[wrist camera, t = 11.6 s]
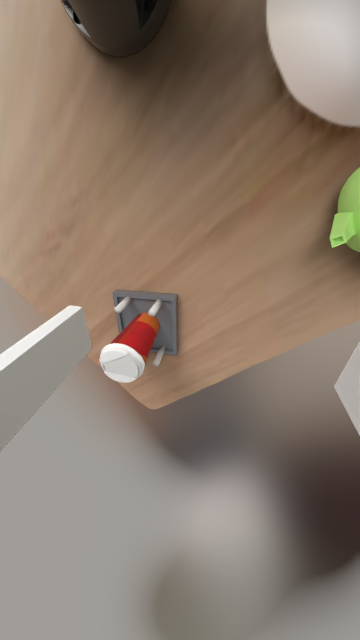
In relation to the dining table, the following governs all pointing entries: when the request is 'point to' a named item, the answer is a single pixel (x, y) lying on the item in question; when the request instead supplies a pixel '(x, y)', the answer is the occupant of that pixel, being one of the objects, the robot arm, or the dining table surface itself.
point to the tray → (154, 305)
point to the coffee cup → (130, 349)
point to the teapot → (348, 215)
